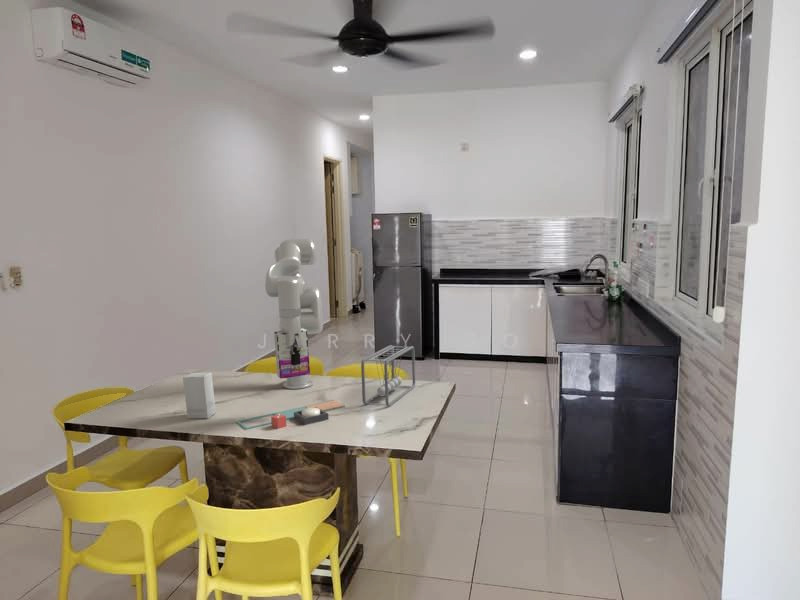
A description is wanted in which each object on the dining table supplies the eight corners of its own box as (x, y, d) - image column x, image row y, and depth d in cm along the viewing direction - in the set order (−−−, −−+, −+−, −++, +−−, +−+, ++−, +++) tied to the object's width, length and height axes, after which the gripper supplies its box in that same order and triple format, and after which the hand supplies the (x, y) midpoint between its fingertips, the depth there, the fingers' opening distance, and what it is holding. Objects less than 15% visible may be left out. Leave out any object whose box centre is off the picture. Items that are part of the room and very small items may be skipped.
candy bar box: (306, 371, 208) (304, 327, 205) (310, 374, 203) (308, 329, 201) (276, 375, 203) (273, 331, 201) (279, 379, 198) (276, 333, 196)
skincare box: (216, 413, 208) (213, 372, 206) (207, 419, 201) (204, 376, 199) (195, 412, 209) (192, 371, 207) (185, 418, 202) (182, 376, 201)
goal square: (305, 407, 211) (305, 406, 211) (334, 401, 218) (334, 400, 218) (315, 412, 204) (315, 411, 204) (344, 406, 211) (344, 405, 211)
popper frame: (294, 418, 199) (293, 412, 199) (317, 413, 204) (316, 407, 204) (304, 424, 192) (304, 418, 192) (328, 419, 197) (328, 413, 197)
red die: (271, 426, 191) (270, 415, 191) (279, 423, 194) (279, 412, 193) (278, 428, 189) (277, 417, 188) (286, 425, 192) (285, 414, 191)
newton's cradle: (388, 408, 207) (386, 361, 205) (362, 406, 211) (360, 359, 209) (415, 386, 235) (414, 345, 233) (392, 385, 239) (391, 343, 237)
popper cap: (298, 416, 199) (298, 410, 199) (315, 413, 202) (314, 406, 202) (306, 421, 194) (306, 414, 193) (323, 417, 197) (323, 411, 197)
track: (236, 422, 197) (236, 421, 197) (333, 400, 218) (333, 399, 218) (245, 429, 189) (245, 428, 189) (345, 406, 210) (345, 405, 210)
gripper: (271, 311, 205) (274, 360, 208) (289, 317, 191) (292, 369, 193) (290, 309, 209) (293, 357, 212) (309, 315, 195) (312, 366, 197)
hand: (292, 362), depth 202 cm, fingers closed on candy bar box, 5 cm apart
